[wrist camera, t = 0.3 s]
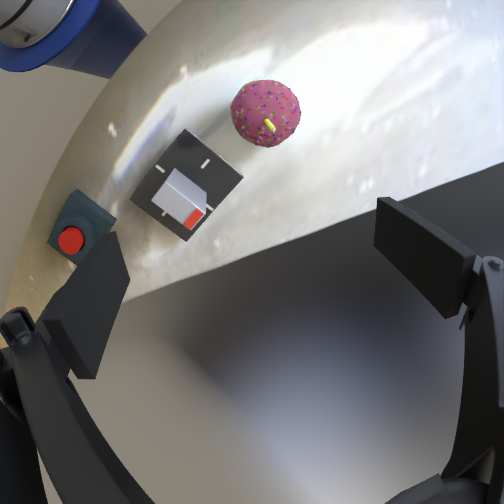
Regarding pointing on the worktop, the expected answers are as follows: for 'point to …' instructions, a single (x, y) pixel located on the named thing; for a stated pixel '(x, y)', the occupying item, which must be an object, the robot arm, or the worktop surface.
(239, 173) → the plate
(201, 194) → the hob knob
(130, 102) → the worktop surface
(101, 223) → the button box
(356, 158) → the worktop surface
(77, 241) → the button
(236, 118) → the cupcake
